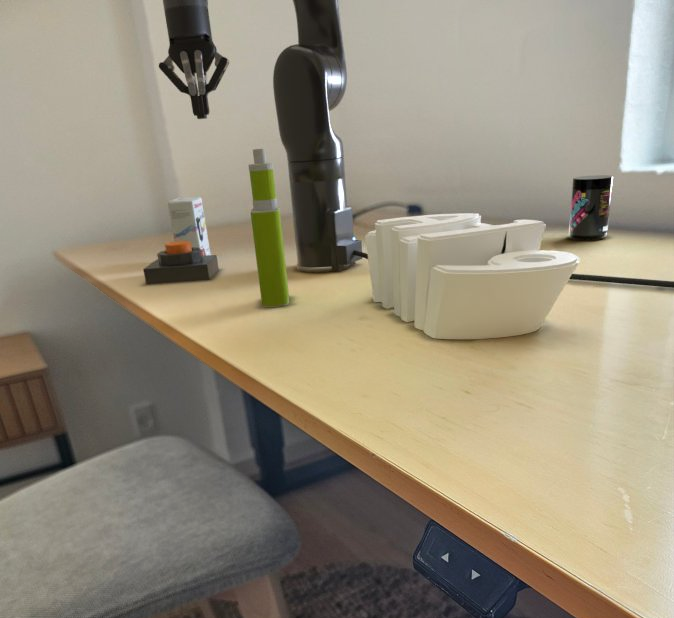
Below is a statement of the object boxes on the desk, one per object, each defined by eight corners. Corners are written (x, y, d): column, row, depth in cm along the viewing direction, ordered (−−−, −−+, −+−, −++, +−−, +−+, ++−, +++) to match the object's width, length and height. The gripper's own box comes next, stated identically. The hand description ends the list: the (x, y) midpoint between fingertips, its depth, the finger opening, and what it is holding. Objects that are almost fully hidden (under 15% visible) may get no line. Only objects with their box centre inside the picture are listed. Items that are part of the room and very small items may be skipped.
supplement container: (573, 234, 125) (578, 175, 121) (611, 235, 122) (617, 174, 117) (563, 240, 120) (568, 179, 116) (601, 241, 117) (608, 178, 112)
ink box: (203, 265, 125) (192, 200, 120) (178, 267, 125) (166, 202, 120) (211, 257, 132) (202, 195, 127) (188, 259, 133) (177, 197, 127)
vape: (289, 296, 97) (273, 147, 88) (288, 305, 91) (271, 148, 83) (264, 298, 97) (246, 149, 88) (261, 308, 91) (241, 151, 83)
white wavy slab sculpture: (356, 288, 98) (352, 214, 93) (460, 275, 101) (461, 202, 96) (445, 357, 67) (445, 251, 62) (591, 335, 70) (601, 232, 65)
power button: (194, 250, 116) (192, 240, 115) (189, 254, 112) (187, 244, 111) (170, 252, 116) (168, 241, 115) (163, 256, 112) (161, 246, 112)
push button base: (218, 269, 120) (215, 244, 118) (209, 280, 112) (205, 253, 110) (159, 274, 120) (154, 249, 118) (146, 284, 112) (140, 258, 110)
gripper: (142, 7, 111) (162, 121, 118) (219, 0, 110) (234, 115, 118) (154, 13, 117) (172, 121, 125) (227, 7, 117) (240, 116, 124)
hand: (202, 118), depth 121 cm, fingers closed
